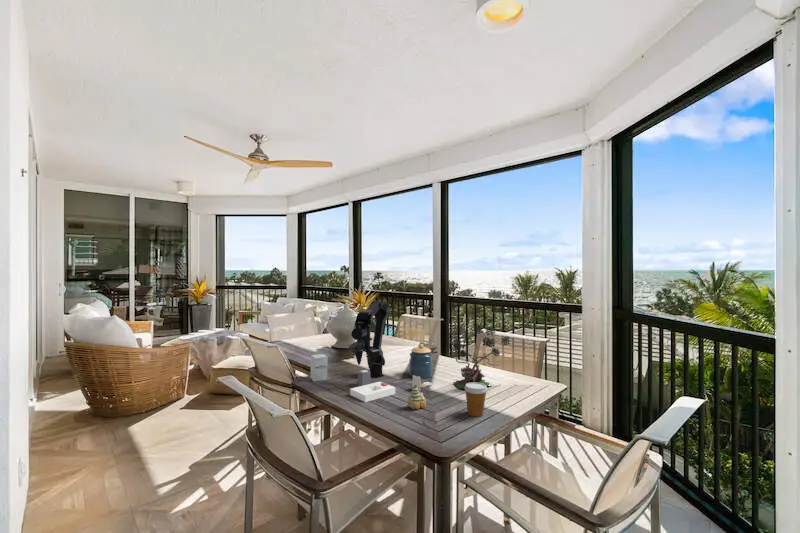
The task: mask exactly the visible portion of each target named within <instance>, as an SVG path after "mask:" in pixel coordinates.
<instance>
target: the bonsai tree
mask: <svg viewBox="0 0 800 533" xmlns="http://www.w3.org/2000/svg"><path fill="white" fill-rule="evenodd" d="M481 328H483V326H482V325H481V326H480V325H477V326H476V327H475V330H474V331H473V332H474V333H475V334H477V333H478V335H479V334H480V335H481V333H484V331H483V329H481ZM485 333H486V334H487V336H485V337H484V336H482V337H483V339H482V346H485V347H486V348H487V347H489V348H491V351H490V352H489V353H488V354H487V355H485V354H484V352H483V348H481V352H482V356H476V357H475V358H473V357H471V355H470V354H469V352H468V350H464V349H465V347H463V345H462V344H461V342H460V341H457V340H456V341H454V342H453V346H452V348H453V349H454V351H456V350H458V351H459V354H457V355H453V357H455V362H456V363H458V364H467V365H465V367H464V366H463V367H461V368H460V369H461V370H460V373H461V378H463V379H461V380H456V381H454V382H452V384H454V385H455V387H456V388H459V389H460V390H465V389H464V387H465V385H466V384H467V383H470V382H477V383H482V384H484V385H486V387H487V386H488V385H489V383H490V382H487V381H486V379H483V378H485V377H486V375H484V374H483V373H482V370H481V369H480V365H479V363H480V362H481V361H483V360H487V364H488V365H490V366H494V367H495V366H496V367H497V366H498V367H499V366H500V365H501V361H499V360H498V361H495V363H496V364H491V363H489V362H490V359H489V358H488V357H489V356H490V355H491V354H492V355H494V357H495V358H497V357H500V356H501V355H500V354H501V352H500V351H499V350H500V349H499V348H498V347H495V340H494V338H493V337H492V336H493V334H494V335H496V330H494V328H493V327H491V326H490V327H489V326H488V327H486V329H485ZM490 335H491V336H490ZM490 337H491V338H490ZM501 340H502V341H501V342H500V344H501V343H502V344H503V345H505V346H507V345H510V344H511V343H510V342H511V341H510V338H509V336H508V335H506V336H505V337H503V338H502V339H501ZM493 347H495V348H493ZM463 348H464V349H463ZM459 355H460V358H463V357H465V359H468V357H469V358H470V359H471V360H473V362H474V364H473V365H472V368H471V367H470V366H471V364H470V363H469V362H468V361H458V357H457V356H459ZM477 359H479V360H477ZM497 363H499V364H497ZM487 388H488V387H487Z"/></svg>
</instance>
